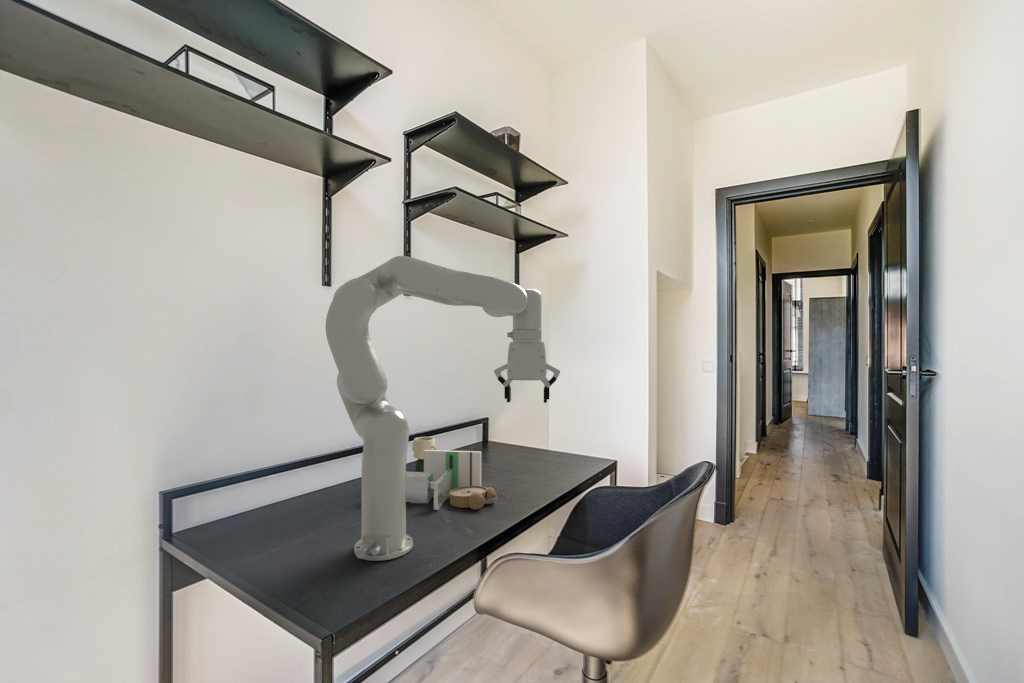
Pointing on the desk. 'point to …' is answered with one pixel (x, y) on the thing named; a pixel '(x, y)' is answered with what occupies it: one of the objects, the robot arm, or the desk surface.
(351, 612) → the desk surface
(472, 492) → the alarm clock
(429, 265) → the robot arm
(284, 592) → the desk surface
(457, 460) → the board
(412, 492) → the block
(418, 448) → the character mug
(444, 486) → the grey t-shaped piece
